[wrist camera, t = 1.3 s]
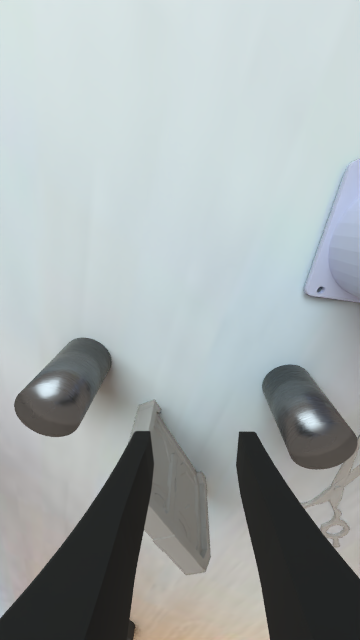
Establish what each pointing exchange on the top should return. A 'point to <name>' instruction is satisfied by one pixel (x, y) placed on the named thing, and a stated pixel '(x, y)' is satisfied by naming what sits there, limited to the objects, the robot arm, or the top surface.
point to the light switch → (175, 497)
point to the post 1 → (64, 389)
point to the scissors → (337, 497)
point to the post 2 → (307, 419)
